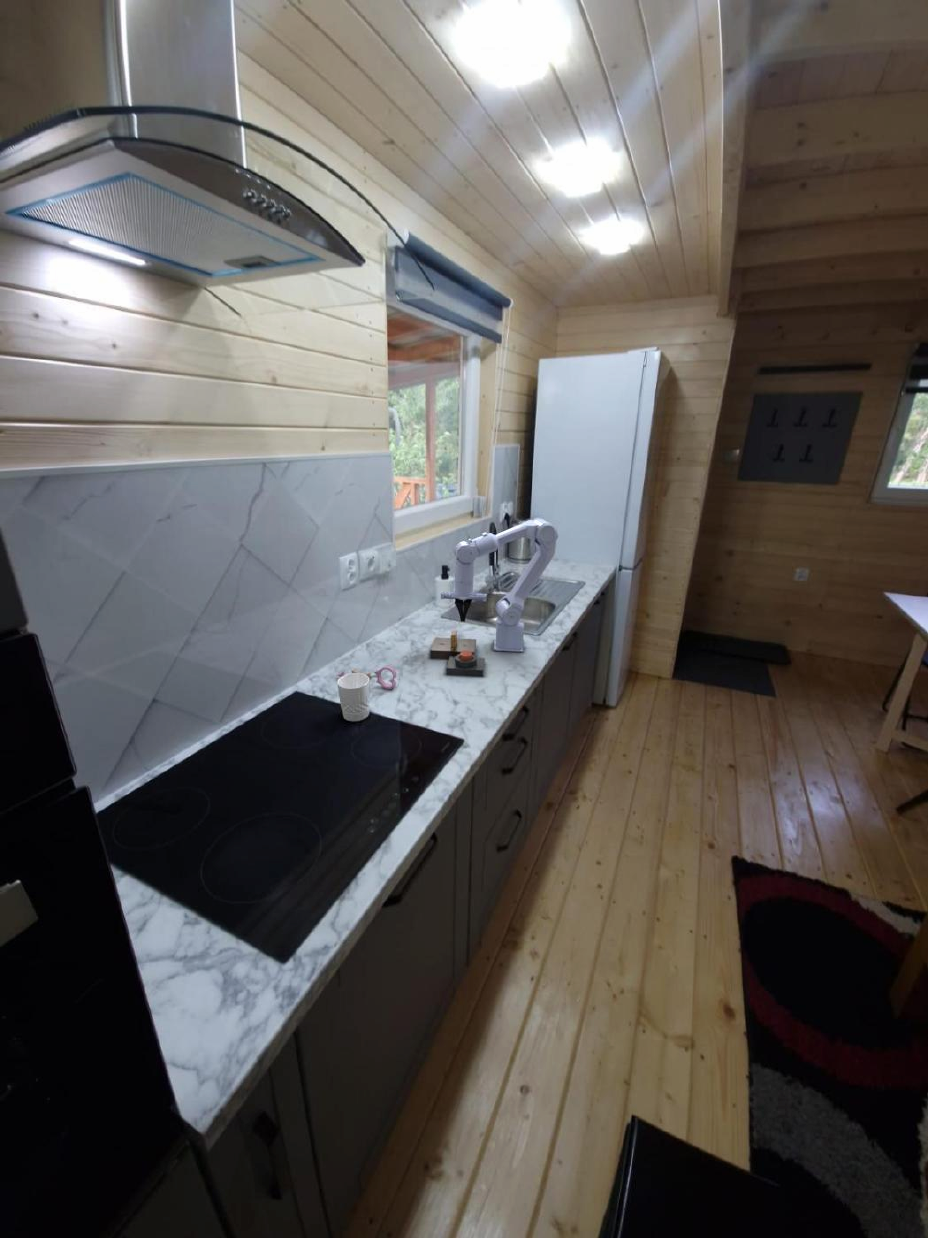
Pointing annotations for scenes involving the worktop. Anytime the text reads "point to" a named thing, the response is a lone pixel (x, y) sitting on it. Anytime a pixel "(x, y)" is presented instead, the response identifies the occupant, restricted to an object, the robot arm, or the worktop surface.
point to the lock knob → (453, 638)
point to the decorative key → (378, 676)
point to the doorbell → (465, 666)
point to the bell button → (466, 656)
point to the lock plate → (444, 650)
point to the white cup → (354, 696)
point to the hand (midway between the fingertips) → (462, 620)
